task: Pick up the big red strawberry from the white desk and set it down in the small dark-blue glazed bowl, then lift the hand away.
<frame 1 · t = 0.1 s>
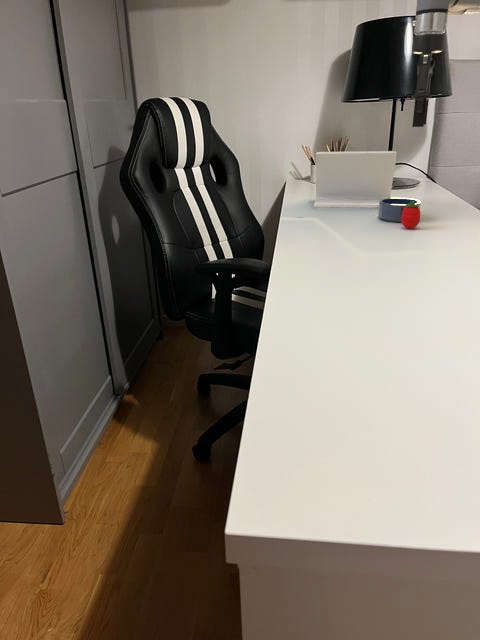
hand: (419, 125, 134), 25 cm above the table, tool pointing down, fingers open, 13 cm apart
bowl: (398, 218, 145), on the table
strawberry: (409, 228, 133), on the table
tablet stand: (352, 203, 170), on the table
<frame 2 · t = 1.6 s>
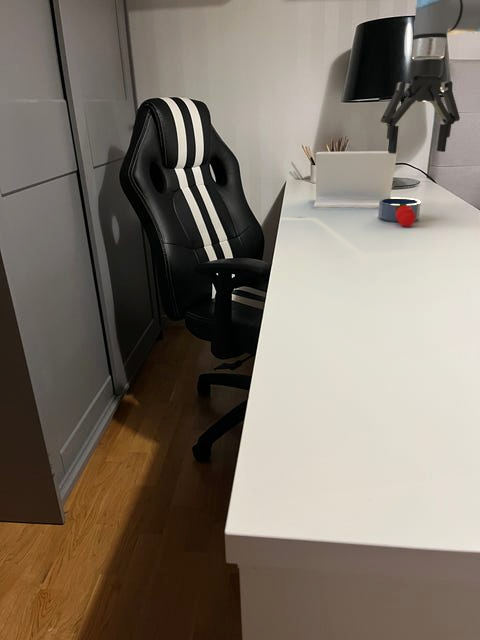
hand: (416, 152, 129), 19 cm above the table, tool pointing down, fingers open, 13 cm apart
strawberry: (409, 224, 133), point 1 cm above the table, tilted 59°, touching bowl
everything else where it was.
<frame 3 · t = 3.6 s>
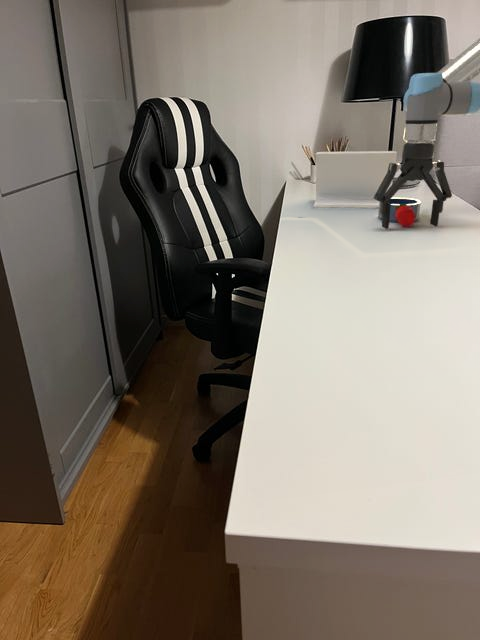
hand: (409, 226, 133), 1 cm above the table, tool pointing down, fingers open, 13 cm apart
nothing on the table moved.
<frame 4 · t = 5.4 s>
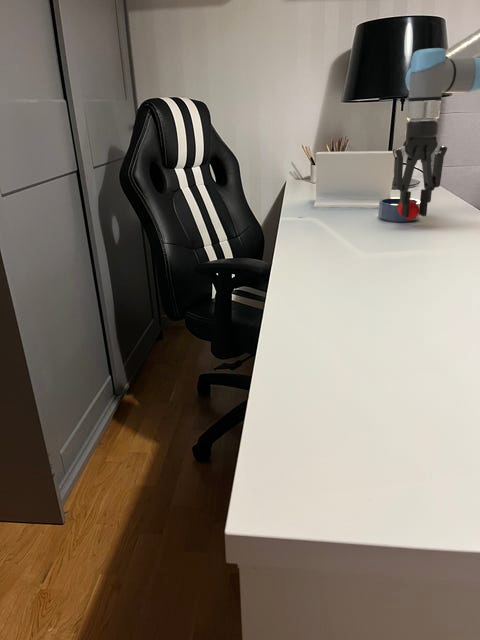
hand: (413, 215, 131), 4 cm above the table, tool pointing down, fingers closed on strawberry, 4 cm apart
strawberry: (414, 213, 131), point 4 cm above the table, tilted 82°, touching bowl, gripper
everything else where it was.
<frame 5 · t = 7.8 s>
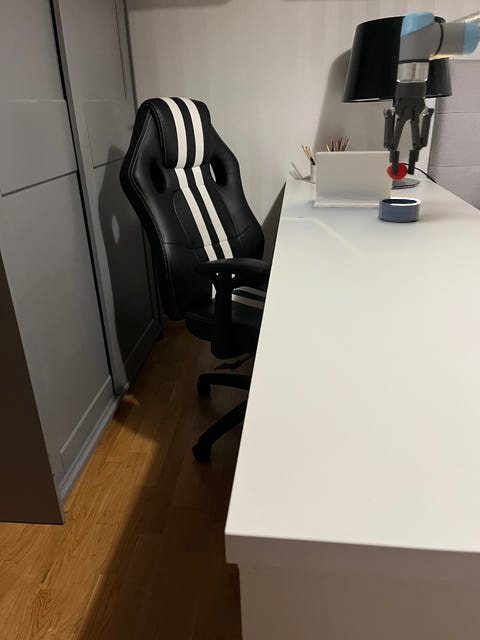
hand: (402, 174, 140), 12 cm above the table, tool pointing down, fingers closed on strawberry, 4 cm apart
strawberry: (403, 171, 139), point 13 cm above the table, tilted 93°, touching gripper
everything else where it was.
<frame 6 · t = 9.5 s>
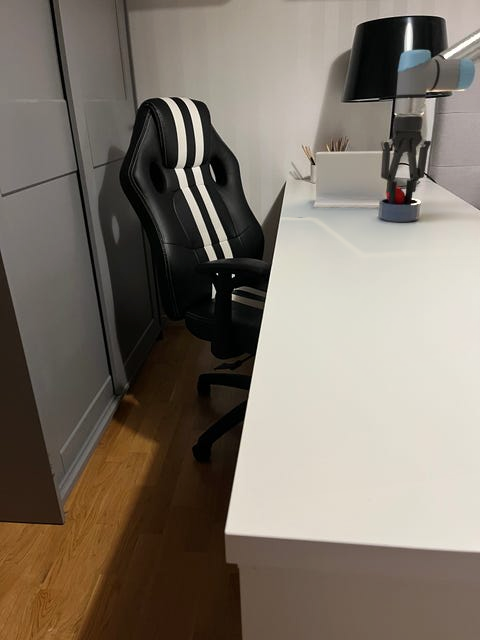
hand: (399, 204, 142), 4 cm above the table, tool pointing down, fingers closed on strawberry, 4 cm apart
strawberry: (400, 201, 142), point 5 cm above the table, tilted 69°, touching bowl, gripper
everything else where it was.
when the fingers open (2 cm above the table, at t = 11.2 s): strawberry stays where it is, resting on bowl.
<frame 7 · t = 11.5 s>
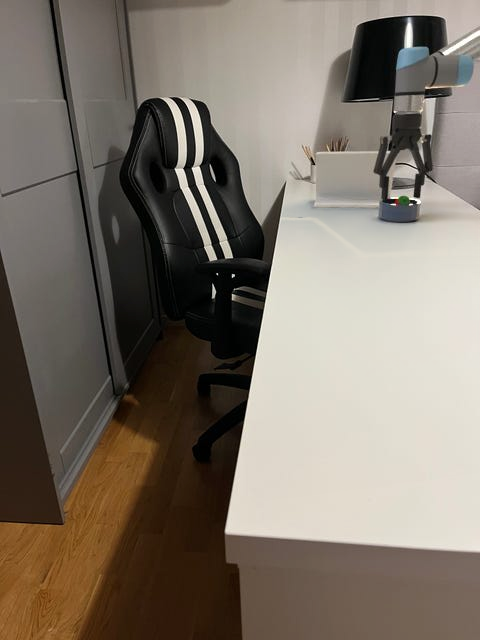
hand: (400, 198, 142), 6 cm above the table, tool pointing down, fingers open, 9 cm apart
strawberry: (399, 214, 144), point 1 cm above the table, tilted 39°, touching bowl
everything else where it was.
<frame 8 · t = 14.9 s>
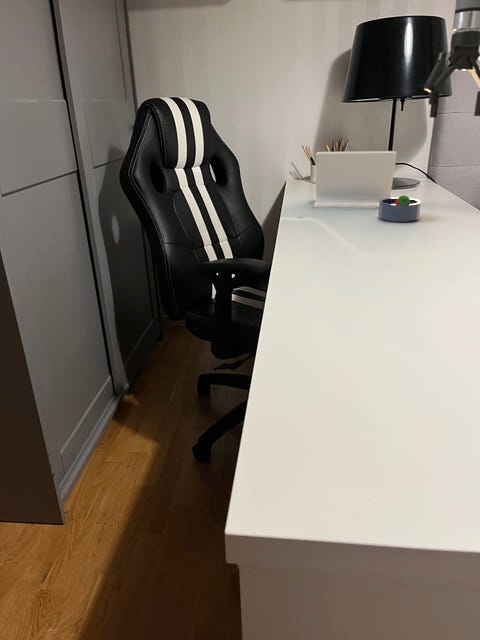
hand: (455, 116, 143), 27 cm above the table, tool pointing down, fingers open, 13 cm apart
nothing on the table moved.
at the end: strawberry inside the target area in the bowl (0.5 cm from its centre), point 1.1 cm above the bowl's base; the gripper is holding nothing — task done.
